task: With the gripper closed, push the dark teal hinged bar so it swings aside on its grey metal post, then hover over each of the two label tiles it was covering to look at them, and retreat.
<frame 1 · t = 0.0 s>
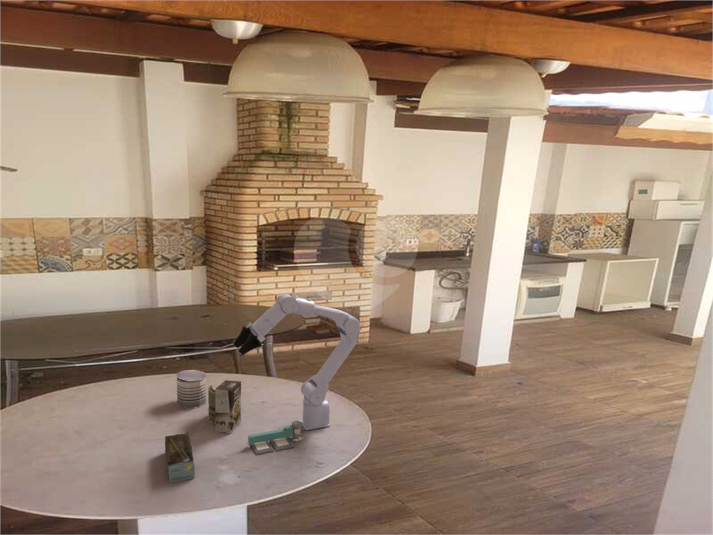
hand: (237, 349, 189), 32 cm above the table, tool tilted 50°, fingers open, 7 cm apart
can: (192, 403, 222), on the table
beverage carton: (179, 466, 176), on the table
pivot post: (296, 438, 196), on the table
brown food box: (224, 418, 209), on the table, touching coffee box
label tile 1: (261, 446, 189), on the table
label tile 2: (280, 442, 192), on the table
coffee box: (228, 427, 202), on the table, touching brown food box
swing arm: (275, 432, 192), point 4 cm above the table, hinge at 0.0°
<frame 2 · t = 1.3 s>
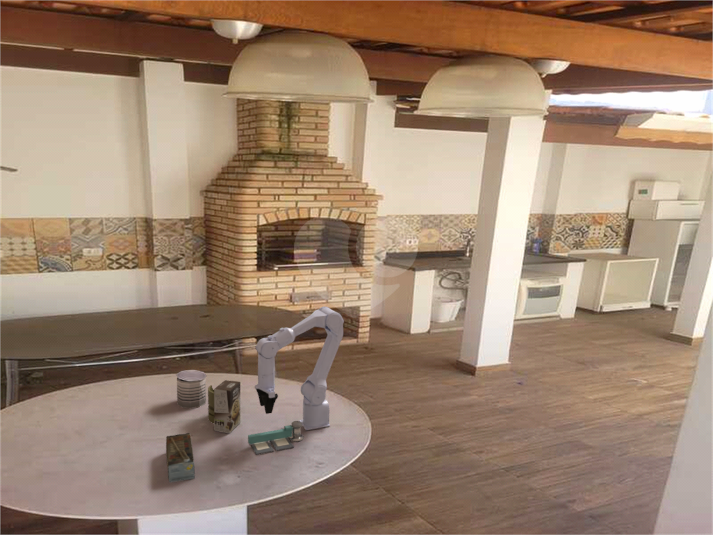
hand: (266, 409, 196), 9 cm above the table, tool pointing down, fingers open, 6 cm apart
nothing on the table moved.
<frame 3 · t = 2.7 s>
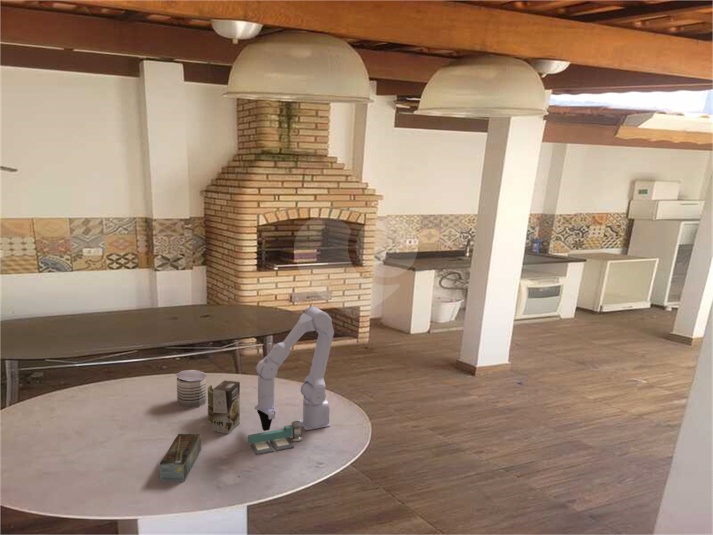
hand: (265, 429, 198), 2 cm above the table, tool pointing down, fingers closed
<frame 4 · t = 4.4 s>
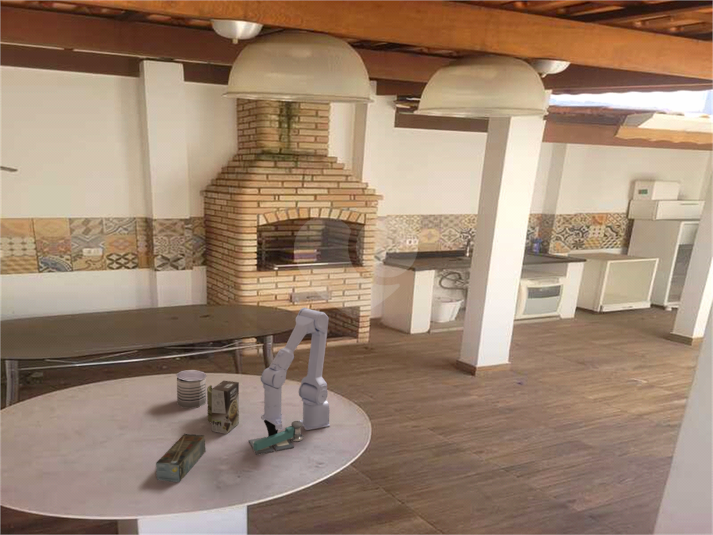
hand: (272, 439, 191), 2 cm above the table, tool pointing down, fingers closed, pressing on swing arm
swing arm: (278, 435, 190), point 4 cm above the table, hinge at 18.0°, touching gripper
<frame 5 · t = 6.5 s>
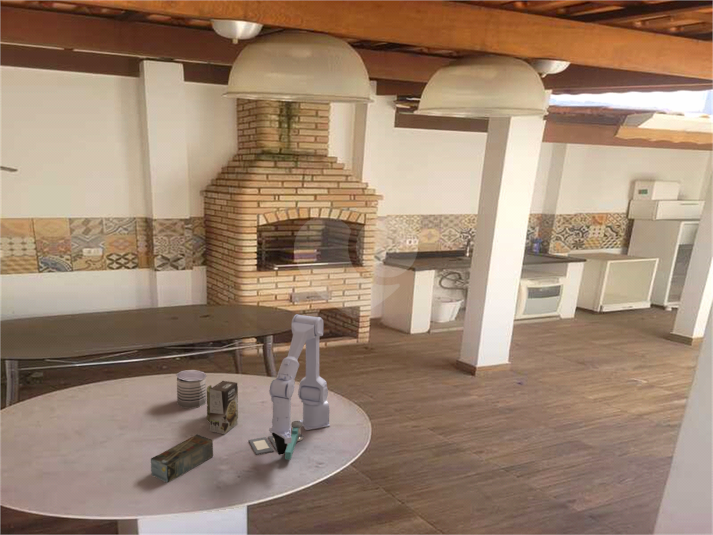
hand: (281, 453, 182), 2 cm above the table, tool pointing down, fingers closed
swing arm: (292, 439, 187), point 4 cm above the table, hinge at 61.6°, touching gripper
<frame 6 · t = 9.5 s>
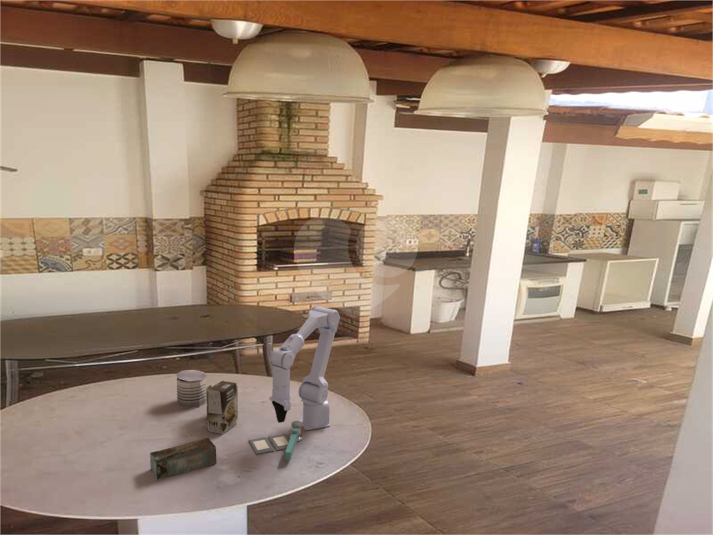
hand: (280, 421, 191), 8 cm above the table, tool pointing down, fingers closed
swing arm: (292, 439, 187), point 4 cm above the table, hinge at 61.7°
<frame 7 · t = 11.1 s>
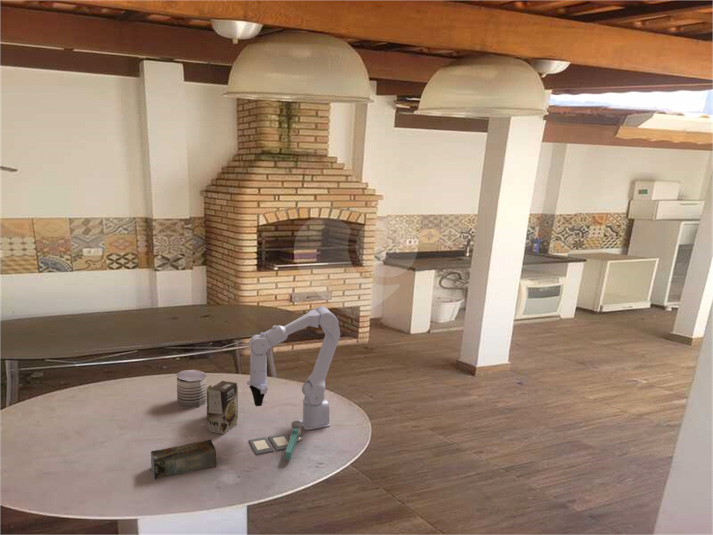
hand: (258, 405, 198), 10 cm above the table, tool pointing down, fingers closed
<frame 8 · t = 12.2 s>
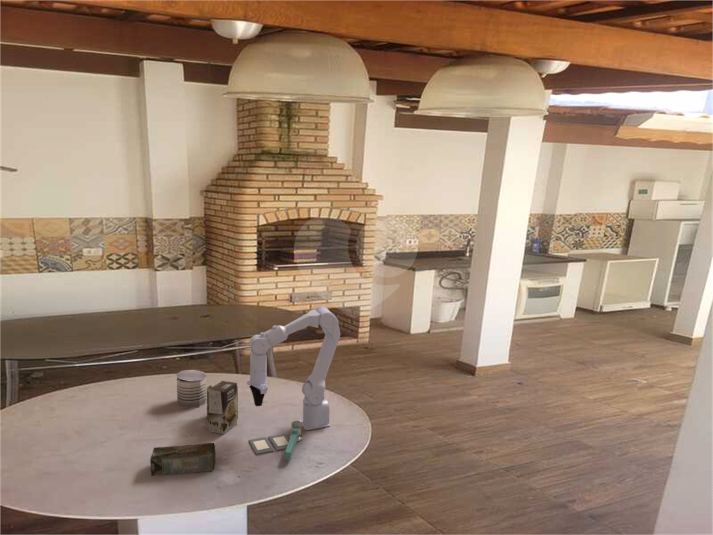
hand: (258, 405, 198), 10 cm above the table, tool pointing down, fingers closed
at the end: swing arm at +62° (first picture: +0°); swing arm touching nothing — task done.
